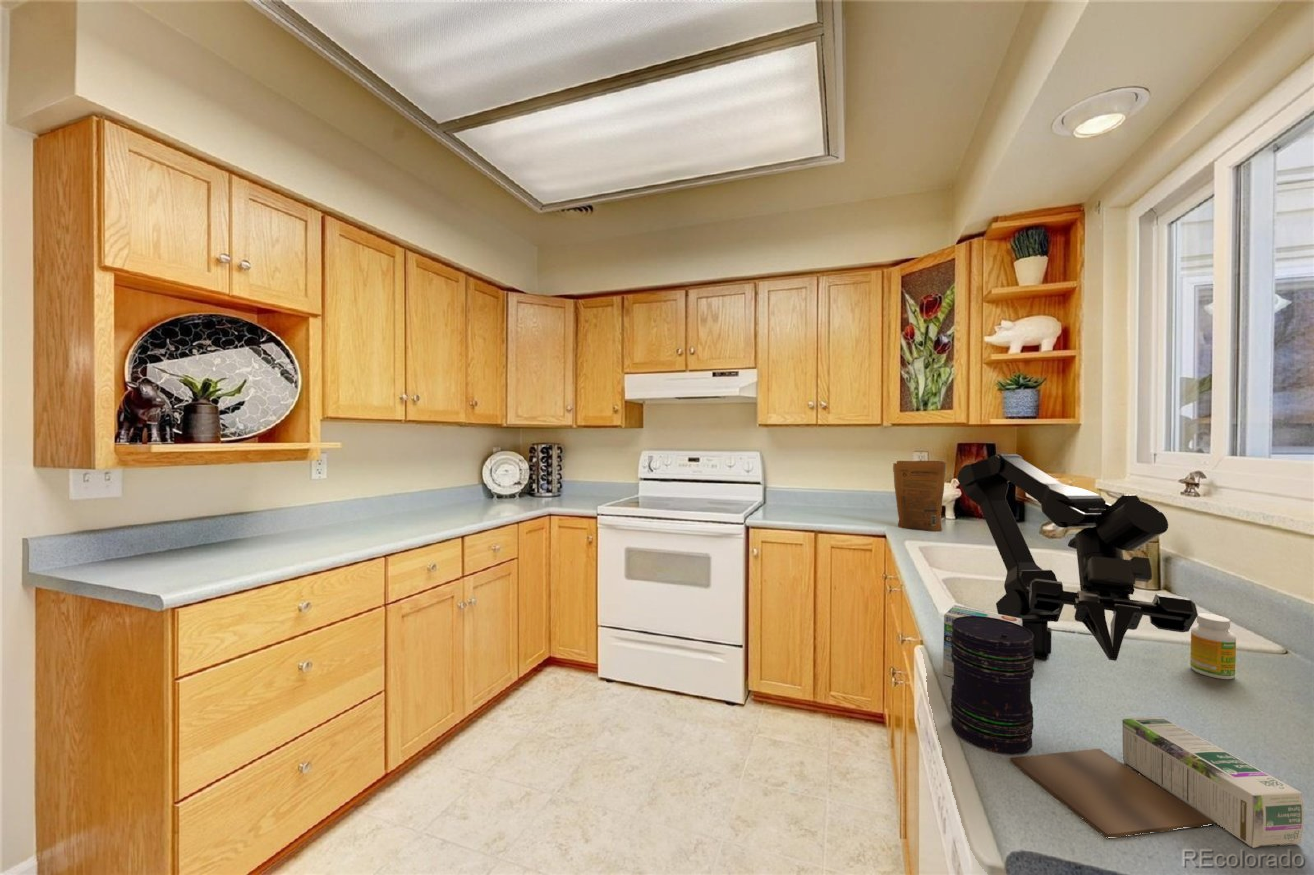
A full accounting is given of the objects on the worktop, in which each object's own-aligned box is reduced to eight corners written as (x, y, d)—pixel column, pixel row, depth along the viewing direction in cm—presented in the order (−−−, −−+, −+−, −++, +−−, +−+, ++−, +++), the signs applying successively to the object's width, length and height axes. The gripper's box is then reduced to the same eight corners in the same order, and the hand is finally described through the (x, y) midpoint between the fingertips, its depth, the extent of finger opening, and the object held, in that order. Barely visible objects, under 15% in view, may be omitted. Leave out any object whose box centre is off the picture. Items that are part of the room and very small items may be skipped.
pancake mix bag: (944, 533, 208) (945, 461, 208) (892, 528, 219) (892, 459, 219) (947, 530, 214) (947, 460, 213) (895, 525, 225) (896, 458, 224)
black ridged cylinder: (937, 714, 80) (938, 615, 80) (1004, 714, 80) (1005, 615, 80) (974, 755, 70) (975, 642, 70) (1051, 756, 70) (1052, 643, 70)
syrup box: (1162, 715, 69) (1305, 790, 55) (1162, 760, 69) (1306, 847, 55) (1120, 717, 69) (1254, 793, 54) (1121, 763, 69) (1254, 851, 54)
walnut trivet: (1107, 839, 56) (1107, 834, 56) (1010, 761, 69) (1010, 757, 69) (1213, 825, 58) (1213, 821, 58) (1099, 752, 71) (1099, 748, 71)
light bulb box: (941, 675, 93) (942, 613, 92) (952, 662, 98) (952, 603, 97) (1015, 696, 85) (1015, 629, 85) (1022, 681, 90) (1023, 618, 90)
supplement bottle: (1225, 682, 89) (1227, 625, 89) (1183, 669, 94) (1184, 614, 94) (1241, 676, 91) (1242, 620, 91) (1199, 663, 96) (1200, 609, 96)
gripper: (1032, 527, 84) (1036, 620, 75) (1195, 541, 74) (1223, 649, 66) (1027, 565, 91) (1031, 653, 82) (1176, 582, 82) (1198, 684, 73)
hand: (1113, 659), depth 76 cm, fingers closed
